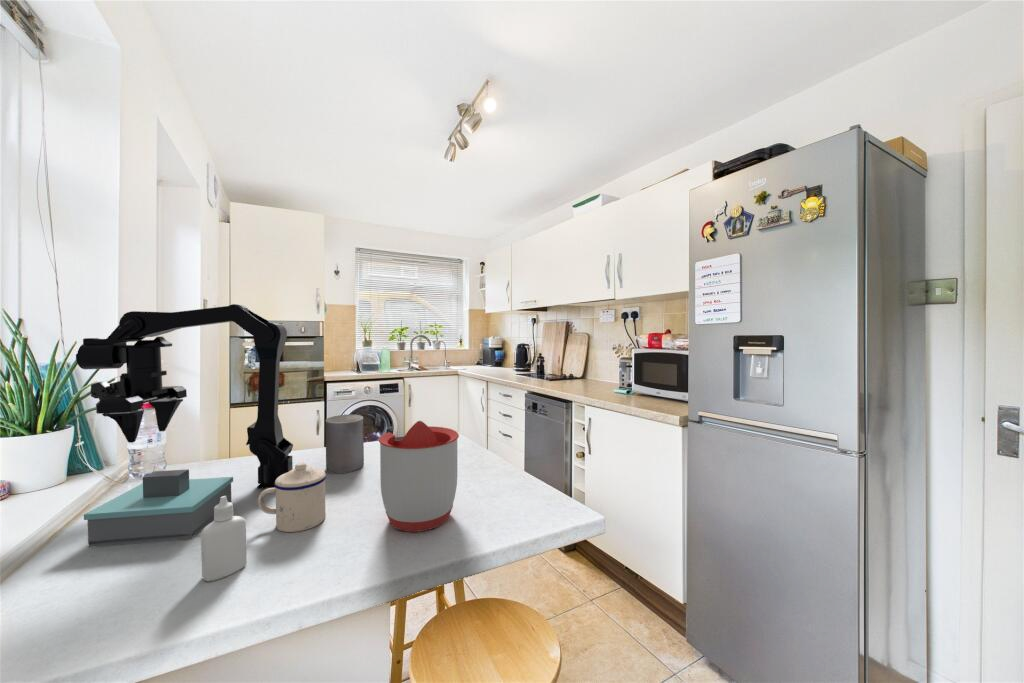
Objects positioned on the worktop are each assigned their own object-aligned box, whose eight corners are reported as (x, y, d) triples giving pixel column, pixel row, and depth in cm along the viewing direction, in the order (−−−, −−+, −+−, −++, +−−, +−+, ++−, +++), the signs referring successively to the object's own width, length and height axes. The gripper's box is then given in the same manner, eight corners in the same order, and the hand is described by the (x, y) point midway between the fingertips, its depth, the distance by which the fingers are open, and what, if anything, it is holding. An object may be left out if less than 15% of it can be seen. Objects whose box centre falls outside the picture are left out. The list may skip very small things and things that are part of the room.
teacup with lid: (330, 508, 84) (329, 454, 83) (322, 529, 75) (321, 469, 75) (266, 516, 80) (265, 459, 80) (250, 539, 72) (249, 475, 71)
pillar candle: (330, 462, 112) (329, 410, 112) (366, 460, 115) (365, 409, 114) (322, 475, 103) (321, 418, 102) (361, 472, 105) (361, 416, 105)
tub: (231, 504, 86) (231, 482, 85) (192, 538, 72) (191, 511, 72) (146, 510, 83) (145, 487, 82) (88, 547, 69) (87, 519, 69)
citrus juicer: (427, 493, 92) (427, 408, 91) (474, 519, 80) (474, 420, 79) (361, 515, 81) (360, 418, 80) (404, 549, 69) (404, 435, 68)
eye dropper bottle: (207, 568, 63) (205, 494, 62) (248, 560, 65) (247, 488, 65) (198, 584, 59) (196, 505, 59) (243, 575, 61) (241, 499, 61)
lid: (233, 486, 86) (232, 458, 86) (192, 518, 71) (191, 484, 71) (145, 492, 83) (144, 463, 82) (84, 526, 68) (82, 491, 68)
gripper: (135, 364, 96) (138, 427, 97) (62, 373, 78) (66, 451, 78) (186, 363, 98) (189, 425, 99) (127, 371, 80) (130, 448, 80)
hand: (147, 436), depth 89 cm, fingers open, 9 cm apart
